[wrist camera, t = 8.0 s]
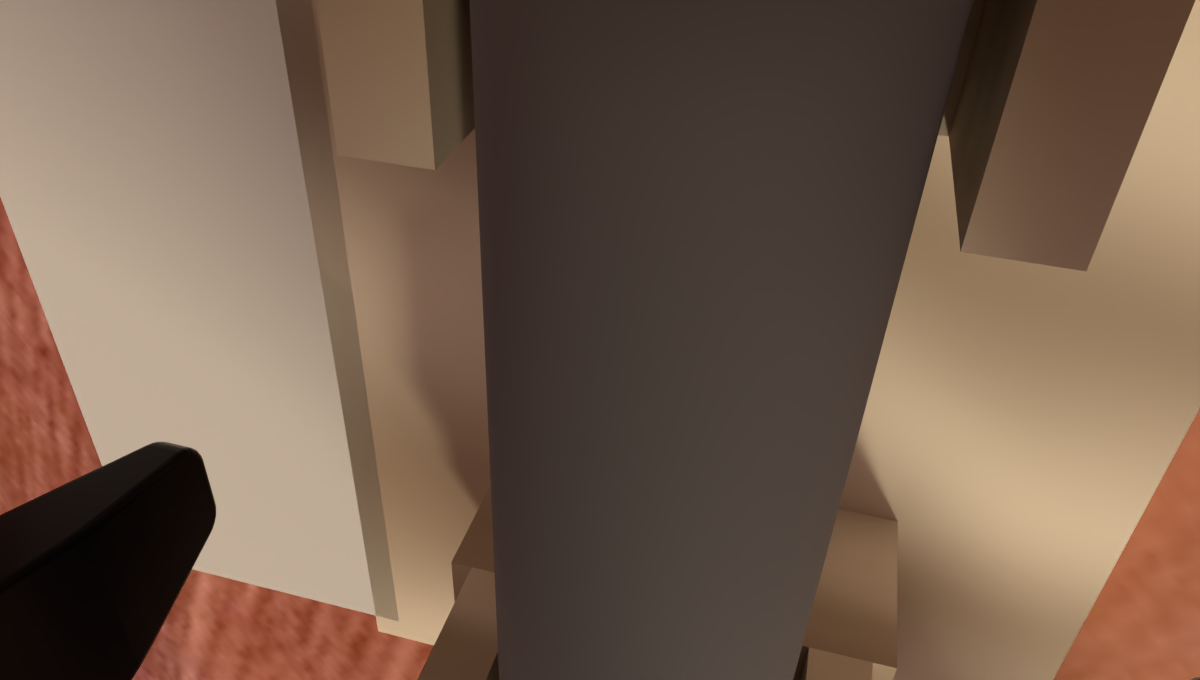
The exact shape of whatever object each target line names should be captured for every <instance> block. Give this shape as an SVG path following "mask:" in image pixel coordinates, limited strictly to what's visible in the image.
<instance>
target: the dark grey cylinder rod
mask: <svg viewBox="0 0 1200 680" xmlns="http://www.w3.org/2000/svg"><path fill="white" fill-rule="evenodd" d="M469 2H470V25H471V48H472V71H473V93H474V116H475V139H476V162H477V184H478V207H479V230H480V253H481V276H482V298H483V321H484V344H485V367H486V389H487V412H488V435H489V458H490V481H491V503H492V526H493V549H494V572H495V594H496V617H497V640H498V663H499V680H793V678H794V675H795V671H796V667H797V663H798V660H799V656H800V652H801V648H802V645H803V641H804V637H805V633H806V629H807V626H808V622H809V618H810V614H811V611H812V607H813V603H814V599H815V596H816V592H817V588H818V584H819V581H820V577H821V573H822V569H823V566H824V562H825V558H826V554H827V551H828V547H829V543H830V539H831V536H832V532H833V528H834V524H835V521H836V517H837V513H838V509H839V505H840V502H841V498H842V494H843V490H844V487H845V483H846V479H847V475H848V472H849V468H850V464H851V460H852V457H853V453H854V449H855V445H856V442H857V438H858V434H859V430H860V427H861V423H862V419H863V415H864V412H865V408H866V404H867V400H868V396H869V393H870V389H871V385H872V381H873V378H874V374H875V370H876V366H877V363H878V359H879V355H880V351H881V348H882V344H883V340H884V336H885V333H886V329H887V325H888V321H889V318H890V314H891V310H892V306H893V303H894V299H895V295H896V291H897V288H898V284H899V280H900V276H901V272H902V269H903V265H904V261H905V257H906V254H907V250H908V246H909V242H910V239H911V235H912V231H913V227H914V224H915V220H916V216H917V212H918V209H919V205H920V201H921V197H922V194H923V190H924V186H925V182H926V179H927V175H928V171H929V167H930V164H931V160H932V156H933V152H934V148H935V145H936V141H937V137H938V133H939V130H940V126H941V122H942V118H943V115H944V111H945V107H946V103H947V100H948V96H949V92H950V88H951V85H952V81H953V77H954V73H955V70H956V66H957V62H958V58H959V55H960V51H961V47H962V43H963V39H964V36H965V32H966V28H967V24H968V21H969V17H970V13H971V9H972V6H973V2H974V0H469Z"/></svg>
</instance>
